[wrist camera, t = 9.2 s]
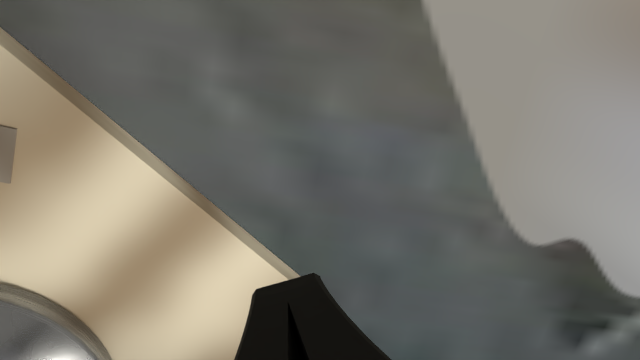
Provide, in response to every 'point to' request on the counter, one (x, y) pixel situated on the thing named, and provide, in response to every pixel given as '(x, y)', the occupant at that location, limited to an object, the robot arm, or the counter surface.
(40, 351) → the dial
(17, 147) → the board
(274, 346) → the robot arm
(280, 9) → the counter surface
